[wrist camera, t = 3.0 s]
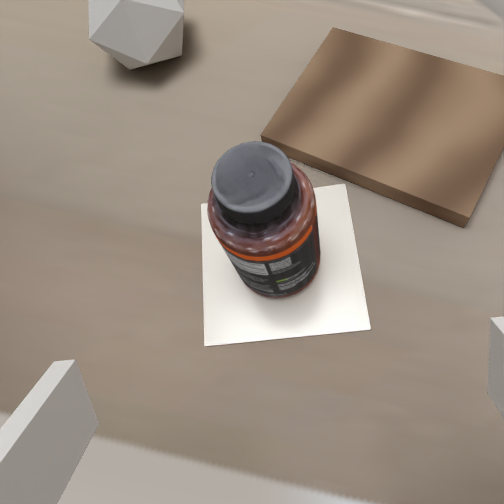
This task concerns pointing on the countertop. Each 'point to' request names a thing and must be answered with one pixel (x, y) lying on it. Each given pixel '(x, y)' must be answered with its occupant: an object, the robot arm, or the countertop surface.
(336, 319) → the white tile
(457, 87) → the walnut board
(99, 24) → the die
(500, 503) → the countertop surface
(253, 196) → the supplement bottle
